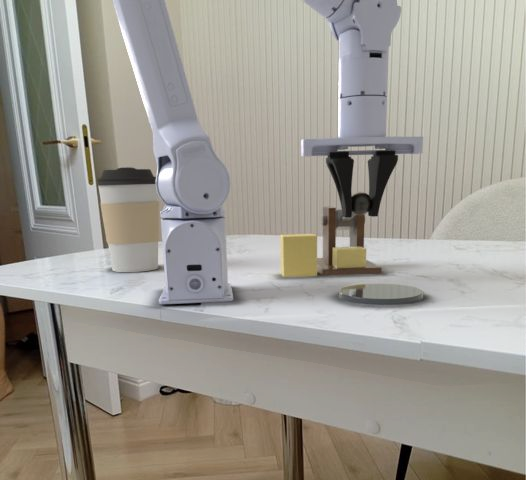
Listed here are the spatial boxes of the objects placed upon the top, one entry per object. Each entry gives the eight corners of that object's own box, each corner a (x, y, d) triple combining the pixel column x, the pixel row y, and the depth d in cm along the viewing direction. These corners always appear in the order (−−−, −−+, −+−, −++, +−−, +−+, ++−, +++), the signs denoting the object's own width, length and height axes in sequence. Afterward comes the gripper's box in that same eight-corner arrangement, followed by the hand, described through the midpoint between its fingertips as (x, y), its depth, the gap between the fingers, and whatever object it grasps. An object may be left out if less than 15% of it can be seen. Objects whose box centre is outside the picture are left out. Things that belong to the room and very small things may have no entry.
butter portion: (317, 277, 79) (317, 235, 77) (283, 278, 79) (283, 236, 77) (313, 273, 82) (313, 233, 80) (281, 275, 81) (280, 234, 80)
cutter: (381, 274, 80) (383, 207, 77) (322, 277, 79) (322, 209, 76) (359, 262, 91) (360, 204, 89) (308, 264, 90) (308, 205, 88)
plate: (435, 304, 60) (436, 296, 60) (349, 308, 60) (349, 300, 59) (407, 289, 69) (407, 282, 69) (331, 292, 68) (331, 285, 68)
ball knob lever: (374, 212, 72) (373, 189, 72) (352, 212, 72) (351, 189, 72) (351, 231, 85) (350, 211, 85) (331, 231, 84) (330, 212, 84)
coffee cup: (167, 271, 88) (160, 165, 83) (104, 274, 86) (94, 166, 81) (162, 263, 96) (155, 167, 92) (105, 266, 94) (95, 168, 90)
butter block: (365, 267, 80) (366, 248, 79) (336, 268, 79) (336, 249, 79) (360, 264, 82) (360, 246, 82) (332, 265, 82) (332, 247, 81)
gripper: (411, 102, 74) (406, 213, 78) (296, 104, 73) (297, 216, 77) (431, 94, 67) (425, 216, 71) (305, 96, 66) (306, 219, 70)
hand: (360, 216), depth 74 cm, fingers closed on ball knob lever, 3 cm apart
